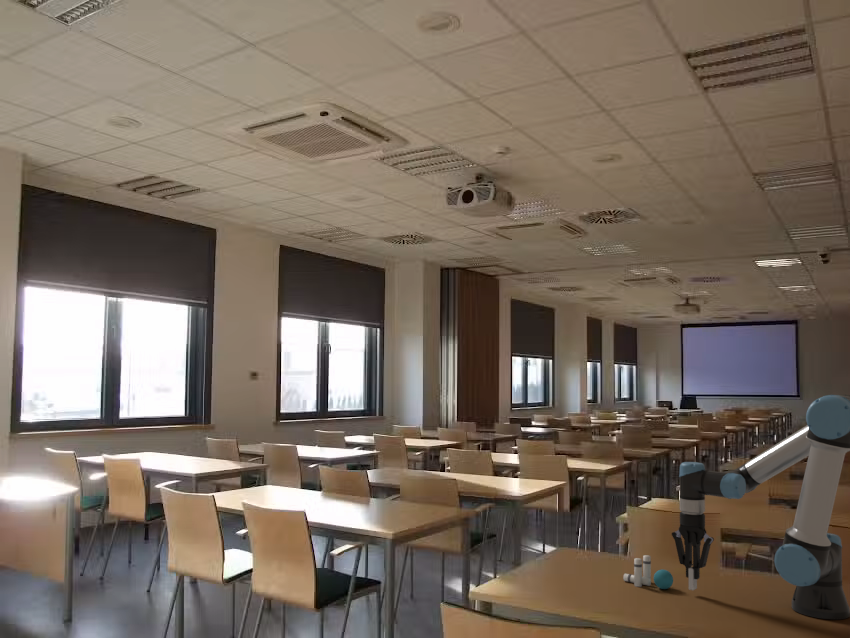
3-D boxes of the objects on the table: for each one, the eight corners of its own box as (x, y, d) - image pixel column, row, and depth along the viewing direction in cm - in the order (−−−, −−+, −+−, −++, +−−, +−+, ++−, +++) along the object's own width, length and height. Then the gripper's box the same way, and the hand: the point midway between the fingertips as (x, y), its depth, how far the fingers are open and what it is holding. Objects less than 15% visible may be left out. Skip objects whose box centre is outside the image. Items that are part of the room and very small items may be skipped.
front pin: (649, 576, 247) (625, 571, 252) (647, 582, 245) (622, 577, 250) (651, 581, 248) (627, 576, 253) (649, 587, 246) (624, 582, 251)
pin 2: (652, 582, 250) (652, 556, 250) (646, 583, 249) (646, 557, 249) (647, 580, 252) (647, 554, 253) (641, 581, 251) (641, 555, 252)
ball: (652, 577, 248) (665, 592, 245) (647, 578, 243) (661, 593, 240) (665, 565, 247) (678, 580, 244) (661, 565, 242) (675, 581, 239)
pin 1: (643, 586, 246) (643, 559, 246) (637, 587, 244) (637, 560, 245) (638, 584, 248) (638, 557, 248) (632, 585, 247) (632, 558, 247)
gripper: (717, 513, 236) (718, 591, 235) (677, 508, 245) (678, 582, 244) (707, 516, 231) (708, 596, 229) (667, 510, 240) (667, 587, 238)
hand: (692, 588), depth 237 cm, fingers closed
